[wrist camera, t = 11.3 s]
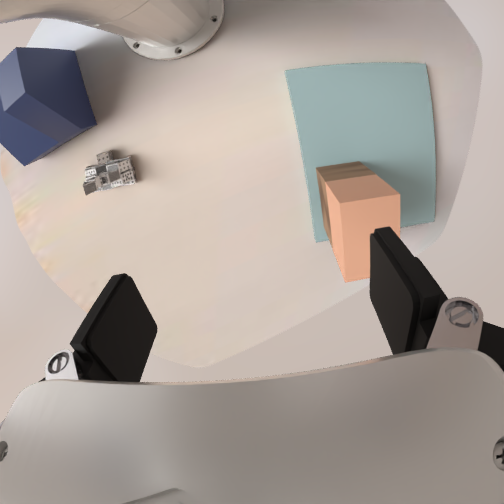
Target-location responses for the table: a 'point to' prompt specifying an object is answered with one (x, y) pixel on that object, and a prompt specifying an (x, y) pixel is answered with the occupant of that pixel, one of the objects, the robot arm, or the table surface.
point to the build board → (368, 130)
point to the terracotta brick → (359, 220)
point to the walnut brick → (336, 174)
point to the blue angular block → (41, 102)
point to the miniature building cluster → (109, 173)
